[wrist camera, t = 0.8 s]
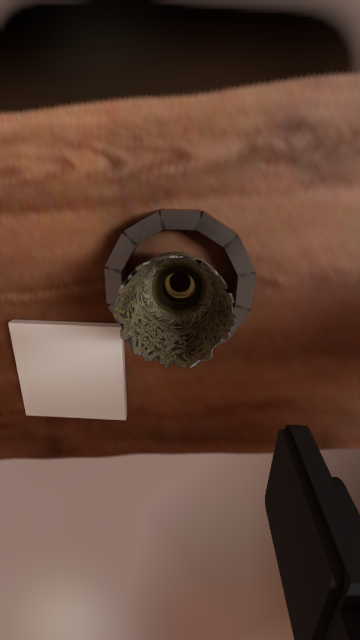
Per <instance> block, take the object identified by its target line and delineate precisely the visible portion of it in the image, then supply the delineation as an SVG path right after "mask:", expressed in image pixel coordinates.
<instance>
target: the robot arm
mask: <svg viewBox="0 0 360 640" xmlns="http://www.w3.org/2000/svg"><path fill="white" fill-rule="evenodd" d="M265 506H266V512H267V517H268V521H269V526H270V530H271V535H272V539H273V544H274V548H275V553H276V558H277V562H278V567H279V572H280V576H281V581H282V585H283V589H284V595H285V599H286V604H287V608H288V612H289V617H290V622H291V627H292V631H293V635H294V640H360V514H359V512H358V510H357V508H356V506H355V504H354V502H353V501H352V499H351V497H350V494H349V493H348V491H347V488H346V487H345V485H344V483H343V482H342V480H340V479H339V478H338V477H332V476H331V474H330V472H329V470H328V468H327V466H326V464H325V461H324V459H323V457H322V455H321V453H320V451H319V449H318V447H317V444H316V442H315V440H314V438H313V436H312V434H311V432H310V430H309V428H308V427H307V426H298V425H286V426H285V429H284V430H279V431H278V435H277V440H276V445H275V450H274V455H273V460H272V465H271V470H270V474H269V479H268V484H267V489H266V494H265Z"/></svg>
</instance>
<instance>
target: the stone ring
mask: <svg viewBox="0 0 360 640" xmlns="http://www.w3.org/2000/svg"><path fill="white" fill-rule="evenodd" d="M163 229H171V230H197V231H199V232H200V233H202V234H204V235H205V236H207V237H208V238H210V239H211V240H213V241H214V242H216V243H218V244H219V245H221V246H222V247H224V248H225V250H226V252H227V254H228V256H229V258H230V260H231V262H232V264H233V266H234V268H235V279H234V290H233V299H234V303H233V309H234V313H235V317H236V323H235V327H234V328H232V329H231V330H230V337H229V339H230V338H231V337H232V336H233V334H234V333H235V332H236V331H237V329H238V328H239V327H240V325H241V324H242V323H243V321H244V320H245V319H246V317H247V316H248V315H249V313H250V310H249V309H252V302H253V293H254V285H255V276H256V274H255V272H254V271H255V269H254V267H253V265H252V263H251V261H250V258H249V256H248V254H247V252H246V250H245V248H244V246H243V243H242V241H241V239H240V237H239V236H238V235H237V233H236V232H235V231H234V230H232V229H231V228H229V227H228V226H226V225H225V224H223V223H221V222H220V221H218V220H217V219H215V218H214V217H212V216H211V215H209V214H208V213H206V212H205V211H203V213H202V214H201V210H190V209H162V210H159V211H157V212H155V213H154V214H152V215H150V216H148V217H147V218H145V219H143V220H142V221H140V222H138V223H136V224H135V225H133V226H131V227H130V228H128V229H126V230H125V232H123V233H122V234H121V236H120V238H119V239H118V241H117V243H116V245H115V247H114V249H113V251H112V253H111V255H110V257H109V259H108V261H107V262H106V264H105V266H106V268H105V269H104V273H105V288H106V303H107V304H109V305H108V308H109V309H110V311H111V312H112V314H113V316H114V307H115V303H116V301H117V298H118V296H117V292H118V290H119V288H120V286H121V285H122V284H124V282H125V281H126V280H127V272H126V266H127V264H128V262H129V260H130V259H131V257H132V255H133V253H134V251H135V250H136V248H137V246H138V244H139V243H140V242H142V241H144V240H146V239H148V238H149V237H151V236H153V235H155V234H156V233H158V232H160V231H162V230H163ZM119 325H120V324H119ZM227 341H228V340H226V339H222V341H221V343H220V344H222V343H224V342H227ZM220 344H219V345H220ZM217 346H218V345H217ZM215 347H216V346H215Z"/></svg>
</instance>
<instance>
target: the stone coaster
mask: <svg viewBox="0 0 360 640" xmlns="http://www.w3.org/2000/svg"><path fill="white" fill-rule="evenodd" d="M8 325H9V330H10V335H11V340H12V345H13V350H14V355H15V361H16V366H17V371H18V376H19V381H20V386H21V391H22V396H23V402H24V407H25V412H26V415H31V416H51V417H71V418H91V419H111V420H126V418H127V396H126V375H125V354H124V339H123V340H122V339H121V336H120V330H121V326H120V325H119V324H116V323H91V322H66V321H40V320H15V319H13V320H11V321H10V322H9V323H8Z"/></svg>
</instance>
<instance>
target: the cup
mask: <svg viewBox="0 0 360 640" xmlns="http://www.w3.org/2000/svg"><path fill="white" fill-rule="evenodd" d="M176 273H184V274H186V275H187V276H188V278H189V280H190V285H189V287H188V289H187V290H185V291H182V292H178V291H175V290H174V289H173V288H172V287H171V284H170V281H171V278H172V276H173V275H174V274H176ZM227 287H228V286H227V284H226V283H225V281H224V280H223V278H222V277H221V276H220V275H219V274H218V273H217V271H216V270H215V269H214V268H213V267H212V266H211V265H210V264H209V263H207V262H206V261H205V260H203V259H202V258H200V257H198V256H196V255H193V254H191V253H186V252H168V253H164V254H161V255H158V256H156V257H154V258H152V259H150V260H148V261H146V262H144V263H142V264H140V265H138V266H137V267H136V269H135V270H134V271H133V272H132V273H131V274H130V275H129V277H128V278H127V280H126V281H125V282H124V284H122V285H121V286H120V288H119V290H118V292H117V296H118V298H117V301H116V303H115V307H114V319H115V320H116V322H117V323H119V324H120V326H121V330H120V336H121V339H122V340H123V339H125V340H126V339H129V338H130V348H131V350H132V352H133V353H134V354H137V355H140V354H141V356H143V359H144V361H151V360H156V359H157V358H159V361H160V363H161V364H162V366H163V367H164V368H167V367H168V366H169V365H170V364H171V363H173V364H176V365H178V367H182V368H187V369H189V368H192V367H193V366H195V365H196V364H197V363H199V362H200V361H202V360H203V361H208V360H210V359H211V358H212V356H213V354H212V352H213V348H214V347H215V346H217V345H219V344H220V343H221V341H222V339H226V340H228V339H229V337H230V330H231V329H232V328H234V327H235V323H236V317H235V313H234V309H233V303H234V299H233V296H232V293H231V292H230V291H229V289H228V288H227ZM128 337H129V338H128Z"/></svg>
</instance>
